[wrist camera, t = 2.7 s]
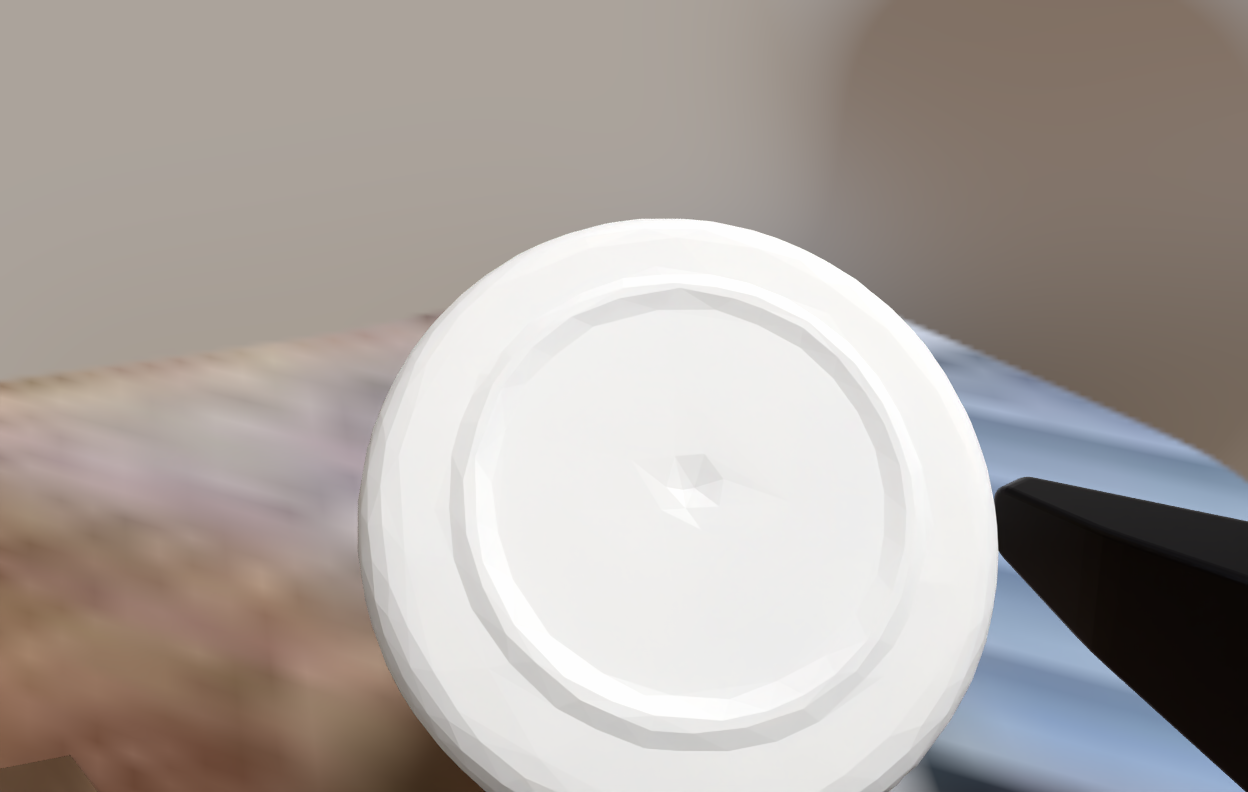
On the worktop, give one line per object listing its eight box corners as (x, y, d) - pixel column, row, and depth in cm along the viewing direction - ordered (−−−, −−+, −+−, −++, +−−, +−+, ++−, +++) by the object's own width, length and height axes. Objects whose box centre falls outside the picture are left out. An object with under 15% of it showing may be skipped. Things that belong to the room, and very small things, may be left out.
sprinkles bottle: (599, 761, 16) (719, 1103, 4) (462, 612, 17) (184, 481, 5) (732, 610, 18) (1150, 485, 5) (599, 478, 19) (675, 92, 6)
